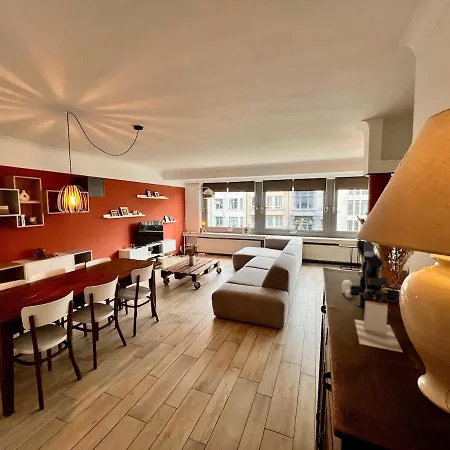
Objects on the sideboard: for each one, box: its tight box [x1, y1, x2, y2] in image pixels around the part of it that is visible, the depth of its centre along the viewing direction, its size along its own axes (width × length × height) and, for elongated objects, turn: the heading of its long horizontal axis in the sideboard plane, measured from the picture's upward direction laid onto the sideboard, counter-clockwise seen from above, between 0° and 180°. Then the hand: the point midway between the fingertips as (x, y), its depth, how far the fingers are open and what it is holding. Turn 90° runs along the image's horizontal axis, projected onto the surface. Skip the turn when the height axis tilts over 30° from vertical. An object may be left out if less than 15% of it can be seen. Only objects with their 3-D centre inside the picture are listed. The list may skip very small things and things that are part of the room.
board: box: [354, 319, 403, 353], centre depth 104 cm, size 22×14×1 cm, turn 157°
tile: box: [363, 301, 389, 333], centre depth 106 cm, size 2×8×12 cm, turn 67°
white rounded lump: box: [341, 279, 354, 299], centre depth 149 cm, size 6×8×12 cm
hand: (374, 310), depth 108 cm, fingers closed
